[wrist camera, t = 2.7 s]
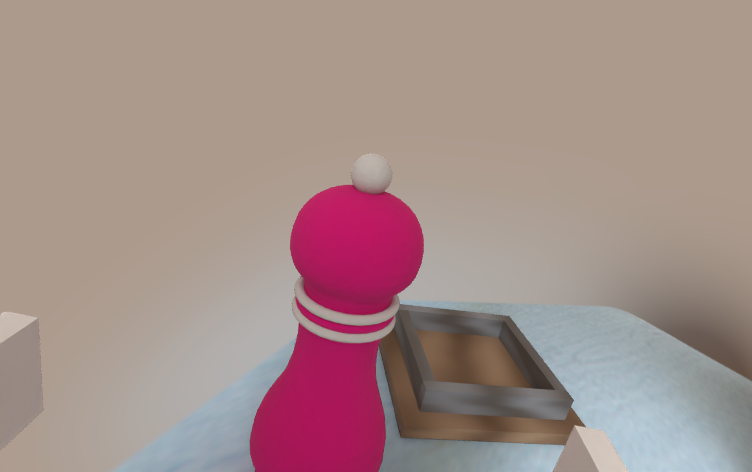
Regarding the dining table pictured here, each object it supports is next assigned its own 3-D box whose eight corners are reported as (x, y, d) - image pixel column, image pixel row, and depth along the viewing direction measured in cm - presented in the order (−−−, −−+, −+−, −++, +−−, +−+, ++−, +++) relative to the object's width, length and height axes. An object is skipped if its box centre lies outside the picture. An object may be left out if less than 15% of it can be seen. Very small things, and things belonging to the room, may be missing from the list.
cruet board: (507, 333, 47) (516, 309, 46) (588, 446, 34) (602, 415, 33) (373, 320, 44) (379, 294, 43) (400, 437, 31) (410, 403, 30)
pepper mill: (330, 589, 21) (430, 191, 14) (213, 511, 23) (250, 137, 16) (387, 479, 27) (475, 168, 20) (291, 426, 30) (341, 131, 23)
